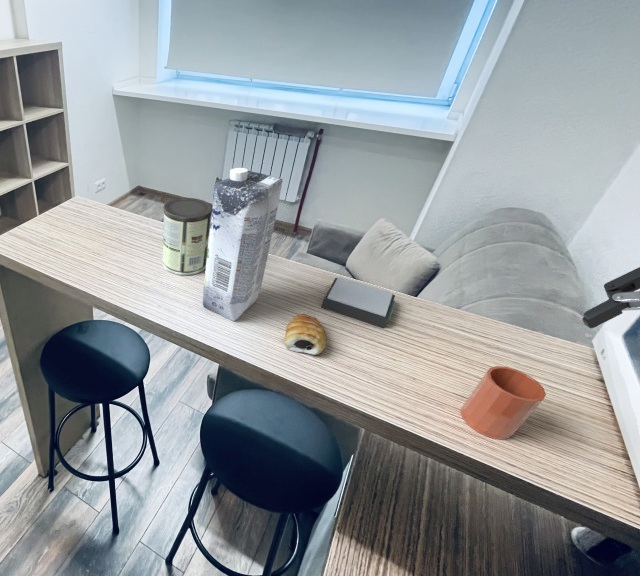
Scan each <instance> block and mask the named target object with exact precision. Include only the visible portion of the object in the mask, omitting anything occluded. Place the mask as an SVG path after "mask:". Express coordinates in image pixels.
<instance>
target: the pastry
mask: <svg viewBox="0 0 640 576" xmlns="http://www.w3.org/2000/svg"><path fill="white" fill-rule="evenodd" d="M283 345H284V346H285V348H286V349H287V350H288V351H290V352H297V353H305V354H309V355H313V356H315V355H319V354H321V353H322V352H324V350H325V348H326V347H327V335H326V332H325V330H324V327H323V326H322V324H321V322H320V321H319V320H318V318H317V317H314V316H311V315H308V314H306V313H301V314H297V315H296V316H293V317H292V319H291V320H290V322H289V323H288V324H287V326H286V327H285V335H284V340H283Z"/></svg>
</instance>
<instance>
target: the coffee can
mask: <svg viewBox="0 0 640 576" xmlns="http://www.w3.org/2000/svg"><path fill="white" fill-rule="evenodd" d="M212 207H213V205H211V204H210V203H209V202H208V201H206V200H202V199H199V198H195V197H194V198H193V197H178V198H174V199H171V200H168V201H166V202H165V203H164V205H163V207H162V208H163V210H162V211H163V230H162V233H163V234H162V262H161V265H162V267H163V268H164V269H165V271H167V272H168V273H172V274H175V275H178V276H193V275H197V274H199V273H201V272H203V271H204V270H206V262H207V253H208V243H209V234H210V225H211V216H212Z"/></svg>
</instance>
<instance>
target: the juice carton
mask: <svg viewBox="0 0 640 576" xmlns="http://www.w3.org/2000/svg"><path fill="white" fill-rule="evenodd" d="M282 185H283V179H282V178H280V177H277V176H272V175H268V174H265V173H261V172H256V171H252V170H248V168H244V167H235V168H231V169H230V170H229V177H228V178H225V179H221V180H219V181H217V182H215V183H214V187H213V199H212V200H213V201H212V213H211V220H210V230H209V239H208V249H207V259H206V267H205V273H204V280H203V282H204V283H203V291H202V292H203V294H202V306H203V308H204V309H207V310H209V311H211V312H213V313H215V314H217V315H219V316H222V317H224V318H225V319H228V320H229V321H232V322H235V321H237V320H238V319H239V318H240V317H241V316H242V315H243V314H244V313H245V312H246V310H248V309H249V308H250V307H252V306H253V305H254V304H255V303H256V301H257V300H258V297H259V295H260V293H261V289H262V288H261V287H262V286H263V285H262V284H263V280H264V275H265V271H266V267H267V261H268V256H269V252H270V247H271V242H272V236H273V233H274V226H275V223H276V218H277V214H278V208H279V203H280V198H281V197H280V196H281V191H282Z"/></svg>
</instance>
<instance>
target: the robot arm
mask: <svg viewBox="0 0 640 576" xmlns="http://www.w3.org/2000/svg"><path fill="white" fill-rule="evenodd" d="M603 289H604V291H605V293H606V296H607V298H608V299H607V300H605V301H603V302H601V303H600V304H597V305H595V306H594V307H592V308H590V309H587V310H586V311H585V312H584V314H583V317H582V319H581V320H582V322H583V324H584V326H586V327H588V328H589V329H595V328H597V327H598V326H601V325H602V324H604V323H606V322H609V321H610V320H612V319H614V318H616V317H618V316H620V315H623V311H640V266H639V267H637V268H634V269H632V270H630V271H629V272H626V273H624V274H622V275H620V276H617V277H616V278H614V279H612V280H610V281H608V282H606V283H604V284H603Z"/></svg>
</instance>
